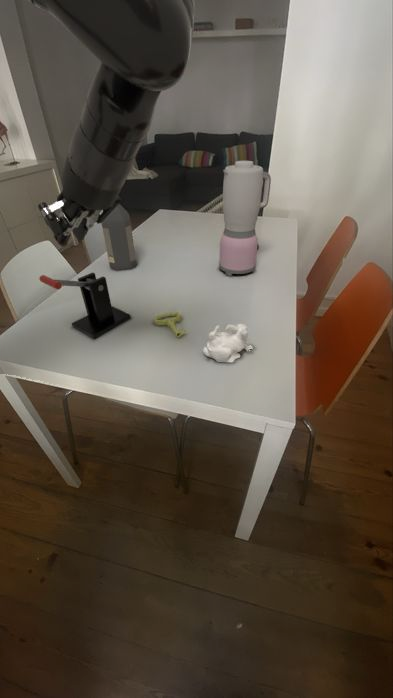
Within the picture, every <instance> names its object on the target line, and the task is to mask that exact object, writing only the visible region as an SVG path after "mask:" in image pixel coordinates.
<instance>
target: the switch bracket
mask: <svg viewBox="0 0 393 698" xmlns="http://www.w3.org/2000/svg"><path fill="white" fill-rule="evenodd" d="M86 278H87V279H96V280H94V281H91V282H89V283H88V285H89V289H90V290H88V289H86V288H85V287H79V288H80V292H81V296H82V299H83V303H84V307H85V311H86V314H87V315H85V316H83V317H81V318H79V319H77V320H75V321H73V322H72V323H71V326H72V328H74V329H75V330H77V331H79V332H80V333H82V334H83V335H86V336H88V337H89V338H91V339H93V340H96V339H98V338H99V337H102V336H103V335H104V334H106V333H108V332H110V331H111V330H113V329H115V328H117V327H118V326H120V325H122V324H123V323H125V322H127V321H129V320H131V314H130V313H127V312H125V311H123V310H121V309H118V308H116V307H115V306H113V305H112V302H111V296H110V292H109V287H108V282H107V278H106V277H105V276H101V277H98V278H97V276H96V273H95V272H93V271H92V272H89V273H87V274H85V275H83V276H81V277H78V278H77V281H81V282H86Z"/></svg>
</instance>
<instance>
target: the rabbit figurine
mask: <svg viewBox="0 0 393 698" xmlns="http://www.w3.org/2000/svg"><path fill="white" fill-rule="evenodd" d="M218 329H220V325H219V324H218V325H216V326H215V328H214V330H213V331H210V332H209V334H208V339H209V341H207V343H206V346H204V347H203V348H202V352H203V353H202V354H204V355H205V356H206V357H208V358H210V359H213V360H214V361H216V362H217V363H234V362H235V360H237V359H239V358H241V354H240V353H239V352H241V351H242V350H245V351H246V352H247V353H248V352H251V350H254V348H253V346H252V345H251V344H250V345H248V344H247V338H248V335H249V334H248V333H249V331H248V326H247V325H246V324H244V323H238V324H236V325H233V324H227V326H226V328H225V331H220V330H219V331H218Z"/></svg>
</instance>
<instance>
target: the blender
mask: <svg viewBox="0 0 393 698" xmlns="http://www.w3.org/2000/svg"><path fill="white" fill-rule="evenodd" d="M222 172H223V185H222V215H223V221H224V222H223V223H224V229H223V233H222V234H221V236H220V239H219V240H220V241H219V261H218V268H219V270H221V271H223V272H224V273H225V276H227V277H232V276H233V274H235V275H242V274H243V275H244V274H248V273H251V274H254V273H255V270H256V266H257V265H256V262H257V255H258V251H259V249H260V245H259V242H258V236H257V233H256V224H257V221H258V218H259V217H258V216H259V212H260V210H262V209H264V208H266V207H267V206H268V204H269V199H270V191H271V182H272V177H271V174H270V173H269V172H267V171H264V168H263V167H262V166H260V165H257V164H256V165H255V164H254V161H251V160H237V161H235V162H234V164H232V165H228V166H225V168H224V169H223V171H222ZM263 179H264V186H263ZM263 187H264V188H263ZM262 192H263V196H262Z"/></svg>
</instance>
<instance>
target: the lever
mask: <svg viewBox="0 0 393 698" xmlns="http://www.w3.org/2000/svg"><path fill="white" fill-rule="evenodd" d="M96 279H97V278H96ZM96 279H87V278H86V282H81V281H78V280H77V281H76V280H64V279H53V278H51V277H49V276H47V275H44V274H42V275H40V276H39V281H40V282H41V283H43V284H45V285H47V286H49V287H51V288H53V289H55V290H60V289H62V286H63V287H79V288H80V287H85V288H86V289H88V290H90V289H89V285H88V283H89V282H91V281H94V280H96Z"/></svg>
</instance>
